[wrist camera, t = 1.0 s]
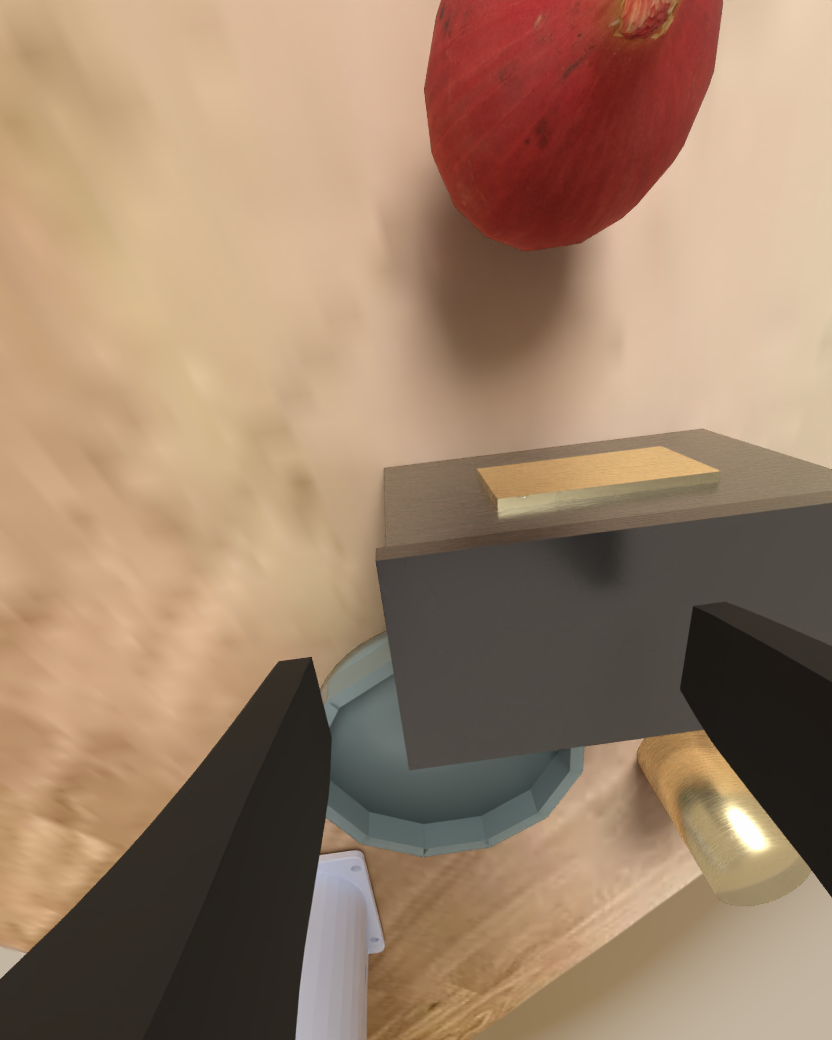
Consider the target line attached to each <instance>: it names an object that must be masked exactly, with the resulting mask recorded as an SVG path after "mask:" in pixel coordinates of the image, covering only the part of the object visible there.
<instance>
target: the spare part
mask: <svg viewBox="0 0 832 1040" xmlns="http://www.w3.org/2000/svg"><path fill="white" fill-rule="evenodd" d="M637 761H638V764H639V766H640V767H641V769H642V771H643V772H644V774H645V776H646V778H647V779H648V781H649V783H650V784H651V786H652V788H653V789H654V791H655V793H656V794H657V796H658V798H659V800H660V801H661V803H662V805H663V806H664V808H665V810H666V811H667V813H668V815H669V816H670V818H671V820H672V822H673V823H674V825H675V827H676V828H677V830H678V832H679V833H680V835H681V837H682V839H683V840H684V842H685V844H686V845H687V847H688V849H689V850H690V852H691V854H692V855H693V857H694V859H695V861H696V862H697V864H698V866H699V867H700V869H701V871H702V872H703V874H704V876H705V878H706V879H707V881H708V883H709V884H710V886H711V888H712V889H713V891H714V893H715V894H716V896H717V898H719V900H721V901H722V902H724V903H726V904H729V905H734V906H754V905H759V904H763V903H767V902H770V901H773V900H776V899H778V898H780V897H782V896H784V895H786V894H788V893H790V892H791V891H792V890H794V889H796V888H797V887H798V886H799V885H801V884H802V883H803V882H804V881H805V879H806V878H807V877H808V876H809V874H810V872H811V869H810V868H809V866H808V865H807V864H806V863H805V861H804V860H803V859H802V857H801V856H800V855H799V854H798V852H797V851H796V850H795V849H794V847H793V846H792V845H791V843H790V842H789V841H788V840H787V838H786V837H785V836H784V835H783V833H782V832H781V831H780V829H779V828H778V827H777V826H776V824H775V823H774V822H773V821H772V819H771V818H770V817H769V815H768V814H767V813H766V812H765V810H764V809H763V808H762V807H761V805H760V804H759V803H758V801H757V800H756V799H755V798H754V796H753V795H752V794H751V793H750V791H749V790H748V789H747V787H746V786H745V785H744V784H743V782H742V781H741V780H740V778H739V777H738V776H737V775H736V773H735V772H734V771H733V769H732V768H731V767H730V765H729V764H728V763H727V762H726V760H725V759H724V758H723V756H722V755H721V754H720V752H719V751H718V750H717V748H716V747H715V746H714V744H713V743H712V742H711V740H710V739H709V737H708V736H707V734H706V732H705V731H704V730H699V731H691V732H684V733H677V734H670V735H663V736H655V737H648V738H645V739H644V741H643V742H642V743H641V745H640V747H639V749H638V753H637Z"/></svg>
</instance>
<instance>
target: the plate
mask: <svg viewBox="0 0 832 1040" xmlns="http://www.w3.org/2000/svg"><path fill="white" fill-rule="evenodd" d="M320 692H321V696H322V700H323V704H324V708H325V712H326V716H327V720H328V724H329V728H330V732H331V736H332V745H331V768H330V785H329V798H328V804H327V811H326V818H327V819H328V820H330V821H331V822H332V823H334V824H335V825H336V826H338V827H339V828H340V829H342V830H343V831H344V832H346V833H347V834H348V835H349V836H351V837H352V838H353V839H355V840H356V841H357V842H359V843H360V844H361V843H362V844H363V845H367V846H372V847H377V848H382V849H387V850H392V851H396V852H401V853H406V854H411V855H416V856H420V857H423V856H424V857H428V856H435V855H442V854H449V853H456V852H463V851H470V850H477V849H484V848H489V847H492V846H494V845H496V844H498V843H500V842H502V841H504V840H505V839H507V838H509V837H511V836H513V835H515V834H517V833H519V832H521V831H523V830H524V829H526V828H528V827H530V826H532V825H534V824H536V823H538V822H540V821H542V820H544V819H545V818H546V817H548V816H549V814H550V813H551V812H552V811H553V809H554V808H555V807H556V805H557V804H558V803H559V802H560V800H561V799H562V798H563V797H564V795H565V794H566V793H567V791H568V790H569V789H570V788H571V786H572V785H573V784H574V782H575V781H576V780H577V779H578V777H579V776H580V775H581V774H582V771H583V761H584V746H583V747H576V748H569V749H562V750H554V751H547V752H540V753H533V754H525V755H518V756H511V757H504V758H497V759H489V760H482V761H475V762H468V763H461V764H453V765H446V766H439V767H432V768H424V769H417V770H410V771H409V766H408V760H407V753H406V747H405V741H404V735H403V728H402V722H401V716H400V710H399V703H398V697H397V691H396V685H395V679H394V672H393V666H392V660H391V654H390V647H389V641H388V635H387V631H386V632H383V633H381V634H379V635H376V636H375V637H373V638H371V639H369V640H368V641H366V642H364V643H362V644H361V645H359V646H358V647H357V648H355V649H354V650H353V651H351V652H350V653H349V654H347V655H346V656H345V657H344V658H343V659H342V660H341V661H340V662H339V663H338V664H337V665H336V666H335V668H334V669H333V670H332V671H331V673H330V674H329V675H328V677H327V678H326V680H325V681H324V683H323V685H322V687H321V689H320Z"/></svg>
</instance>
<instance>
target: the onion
mask: <svg viewBox="0 0 832 1040" xmlns="http://www.w3.org/2000/svg"><path fill="white" fill-rule="evenodd" d="M722 7H723V0H441V2H440V6H439V9H438V12H437V15H436V20H435V26H434V32H433V38H432V44H431V50H430V56H429V62H428V69H427V75H426V81H425V87H424V94H425V102H426V110H427V118H428V127H429V135H430V143H431V152H432V155H433V158H434V160H435V163H436V165H437V167H438V170H439V172H440V174H441V177H442V179H443V181H444V183H445V186H446V188H447V190H448V192H449V195H450V197H451V199H452V202H453V204H454V206H455V207H456V208H457V209H458V210H459V211H460V212H461V213H462V214H463V215H464V216H465V217H466V218H467V219H468V220H469V221H470V222H471V223H472V224H473V225H474V226H475V227H476V228H478V229H479V230H480V231H481V232H482V233H483V234H484V235H485V236H486V237H488V238H491V239H493V240H496V241H499V242H501V243H504V244H507V245H509V246H512V247H515V248H517V249H520V250H523V251H531V250H539V249H546V248H552V247H559V246H566V245H572V244H578V243H582V242H583V241H585V240H587V239H588V238H590V237H592V236H593V235H595V234H597V233H598V232H600V231H602V230H603V229H605V228H607V227H608V226H610V225H612V224H613V223H615V222H617V221H618V220H620V219H622V218H623V217H624V216H625V215H626V214H627V213H628V212H629V211H631V210H632V209H633V208H634V207H635V206H636V205H637V204H638V203H639V202H640V200H641V199H642V198H643V197H644V196H645V195H646V193H647V192H648V191H649V190H650V189H651V188H652V186H653V185H654V184H655V183H656V182H657V181H658V179H659V178H660V177H661V176H662V175H663V174H664V172H665V171H666V170H667V169H668V168H669V167H670V165H671V164H672V163H673V162H674V160H675V159H676V157H677V155H678V154H679V152H680V151H681V149H682V147H683V146H684V144H685V141H686V139H687V137H688V134H689V132H690V130H691V127H692V125H693V123H694V120H695V118H696V116H697V113H698V111H699V108H700V106H701V104H702V101H703V99H704V97H705V94H706V92H707V90H708V87H709V85H710V82H711V79H712V75H713V72H714V68H715V60H716V52H717V45H718V37H719V30H720V22H721V15H722Z"/></svg>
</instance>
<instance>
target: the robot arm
mask: <svg viewBox="0 0 832 1040" xmlns="http://www.w3.org/2000/svg"><path fill="white" fill-rule="evenodd" d="M680 691H681V692H682V694H683V696H684V698H685V699H686V701H687V703H688V704H689V706H690V708H691V710H692V711H693V713H694V715H695V716H696V718H697V720H698V721H699V723H700V724H701V726H702V728H703V729H704V731H705V732H706V734H707V736H708V737H709V739H710V740H711V742H712V743H713V744H714V746H715V747H716V748H717V750H718V751H719V752H720V754H721V755H722V756H723V758H724V759H725V760H726V762H727V763H728V764H729V765H730V767H731V768H732V769H733V771H734V772H735V773H736V775H737V776H738V777H739V778H740V780H741V781H742V782H743V784H744V785H745V786H746V787H747V789H748V790H749V791H750V793H751V794H752V795H753V796H754V798H755V799H756V800H757V801H758V803H759V804H760V805H761V807H762V808H763V809H764V810H765V812H766V813H767V814H768V815H769V817H770V818H771V819H772V821H773V822H774V823H775V824H776V826H777V827H778V828H779V829H780V831H781V832H782V833H783V835H784V836H785V837H786V838H787V840H788V841H789V842H790V843H791V845H792V846H793V847H794V849H795V850H796V851H797V852H798V854H799V855H800V856H801V857H802V859H803V860H804V861H805V863H806V864H807V865H808V866H809V868H810V869H811V870H812V871H813V873H814V874H815V875H816V877H817V878H818V879H819V881H820V882H821V884H822V885H823V886H824V887H825V889H826V890H827V891H828V893H829V894H830V896H831V897H832V646H831V645H828V644H826V643H824V642H821V641H819V640H817V639H814V638H812V637H810V636H808V635H805V634H803V633H801V632H798V631H796V630H794V629H791V628H789V627H787V626H785V625H782V624H780V623H778V622H775V621H773V620H770V619H768V618H766V617H763V616H761V615H759V614H756V613H754V612H751V611H749V610H746V609H744V608H741V607H738V606H736V605H733V604H730V603H727V602H719V603H711V604H704V605H696V606H693V609H692V615H691V622H690V628H689V634H688V641H687V647H686V653H685V660H684V666H683V672H682V678H681V685H680ZM331 745H332V736H331V732H330V728H329V724H328V720H327V716H326V712H325V708H324V704H323V700H322V696H321V692H320V688H319V684H318V680H317V677H316V673H315V669H314V665H313V661H312V657H308V658H300V659H293V660H285V661H279V662H278V663H277V664H276V665H275V667H274V668H273V669H272V671H271V672H270V673H269V675H268V676H267V677H266V679H265V680H264V681H263V683H262V684H261V685H260V687H259V688H258V689H257V691H256V692H255V694H254V695H253V696H252V698H251V699H250V700H249V702H248V703H247V704H246V706H245V707H244V708H243V710H242V711H241V712H240V714H239V715H238V716H237V718H236V719H235V721H234V722H233V723H232V725H231V726H230V727H229V728H228V730H227V731H226V732H225V734H224V735H223V736H222V737H221V739H220V740H219V741H218V743H217V744H216V745H215V746H214V748H213V749H212V750H211V752H210V753H209V754H208V756H207V757H206V758H205V759H204V761H203V762H202V763H201V764H200V766H199V767H198V768H197V769H196V771H195V772H194V773H193V774H192V776H191V777H190V778H189V779H188V780H187V782H186V783H185V784H184V785H183V786H182V788H181V789H180V790H179V791H178V792H177V794H176V795H175V796H174V797H173V798H172V799H171V801H170V802H169V803H168V804H167V805H166V807H165V808H164V809H163V810H162V811H161V813H160V814H159V815H158V816H157V817H156V819H155V820H154V821H153V822H152V823H151V824H150V826H149V827H148V828H147V829H146V830H145V831H144V832H143V834H142V835H141V836H140V837H139V838H138V839H137V840H136V841H135V842H134V844H133V845H132V846H131V847H130V848H129V849H128V850H127V851H126V853H125V854H124V855H123V856H122V857H121V858H120V859H119V860H118V861H117V862H116V863H115V865H114V866H113V867H112V868H111V869H110V870H109V871H108V872H107V873H106V874H105V875H104V876H103V877H102V878H101V879H100V880H99V881H98V883H97V884H96V885H95V886H94V887H93V888H92V889H91V890H90V891H89V892H88V893H87V894H86V895H85V896H84V897H83V898H82V899H81V900H80V901H79V903H78V904H77V905H76V906H75V907H74V908H73V909H72V910H71V911H70V912H69V913H68V914H67V915H66V916H65V917H64V918H63V919H62V920H61V921H60V922H59V923H58V924H57V925H56V926H55V927H54V928H53V929H52V930H51V931H50V932H49V933H48V934H46V935H45V936H44V937H43V938H42V939H41V940H40V941H39V942H38V943H37V944H36V945H35V946H34V947H33V948H32V949H31V950H30V951H29V952H28V953H27V954H26V955H25V956H24V957H23V958H22V959H21V960H20V961H19V962H18V963H16V965H14V966H13V967H12V968H11V969H10V970H9V971H8V972H7V973H6V974H5V975H4V976H3V977H2V978H1V979H0V1040H367V1001H368V954H373V953H379V952H381V951H383V950H384V948H385V940H384V936H383V932H382V928H381V924H380V920H379V915H378V911H377V907H376V903H375V899H374V895H373V891H372V886H371V882H370V878H369V874H368V870H367V866H366V862H365V857H364V854H363V853H362V852H361V851H358V850H352V851H345V852H338V853H331V854H324V855H320V850H321V843H322V837H323V831H324V824H325V818H326V811H327V804H328V798H329V785H330V768H331Z"/></svg>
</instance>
